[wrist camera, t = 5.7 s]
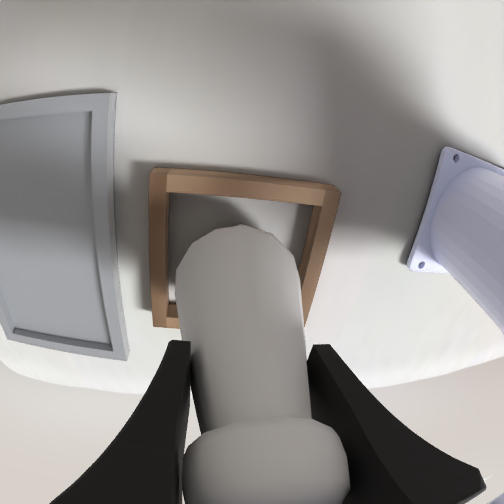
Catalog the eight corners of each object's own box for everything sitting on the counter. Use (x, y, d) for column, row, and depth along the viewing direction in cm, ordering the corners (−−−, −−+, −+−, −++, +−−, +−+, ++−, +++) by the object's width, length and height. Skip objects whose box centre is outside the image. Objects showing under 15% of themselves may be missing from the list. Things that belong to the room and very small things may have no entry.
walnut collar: (333, 185, 15) (341, 192, 14) (298, 320, 20) (302, 333, 18) (154, 167, 14) (149, 173, 13) (156, 313, 18) (153, 326, 17)
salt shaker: (218, 319, 18) (233, 545, 7) (157, 247, 16) (95, 510, 4) (306, 272, 18) (403, 498, 6) (255, 187, 15) (360, 457, 4)
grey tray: (116, 92, 12) (109, 93, 11) (129, 350, 20) (126, 361, 19) (-31, 111, 11) (-41, 114, 10) (12, 330, 18) (7, 339, 17)
